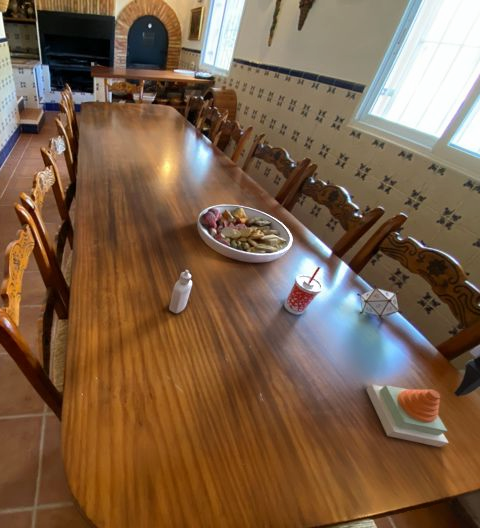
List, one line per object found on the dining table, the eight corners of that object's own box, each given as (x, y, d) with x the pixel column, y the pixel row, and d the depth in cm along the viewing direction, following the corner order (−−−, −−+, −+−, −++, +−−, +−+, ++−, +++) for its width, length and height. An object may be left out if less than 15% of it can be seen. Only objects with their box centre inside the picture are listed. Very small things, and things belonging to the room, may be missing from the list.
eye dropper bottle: (191, 309, 74) (202, 274, 67) (172, 315, 72) (181, 279, 65) (183, 297, 77) (192, 262, 70) (164, 302, 75) (171, 267, 68)
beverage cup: (294, 319, 74) (322, 278, 65) (276, 302, 78) (299, 262, 69) (311, 312, 76) (339, 272, 67) (292, 296, 80) (316, 256, 72)
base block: (440, 447, 53) (449, 443, 52) (387, 436, 54) (394, 431, 53) (412, 398, 60) (419, 393, 59) (365, 389, 61) (371, 384, 59)
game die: (353, 319, 81) (345, 285, 79) (385, 310, 80) (379, 276, 78) (378, 332, 72) (370, 294, 70) (415, 323, 71) (408, 284, 69)
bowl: (276, 223, 110) (285, 204, 105) (295, 275, 87) (307, 255, 82) (195, 211, 113) (200, 192, 108) (194, 258, 91) (199, 237, 86)
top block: (439, 435, 53) (448, 431, 51) (397, 426, 53) (404, 422, 52) (417, 397, 58) (424, 392, 57) (379, 390, 59) (385, 385, 57)
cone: (441, 426, 52) (463, 413, 49) (406, 419, 52) (427, 406, 49) (422, 395, 56) (442, 382, 53) (391, 389, 57) (408, 375, 54)
